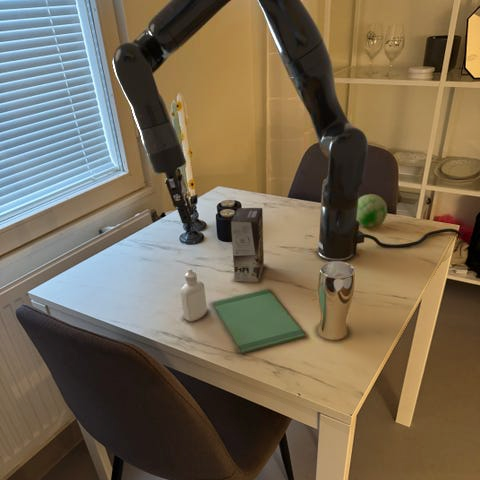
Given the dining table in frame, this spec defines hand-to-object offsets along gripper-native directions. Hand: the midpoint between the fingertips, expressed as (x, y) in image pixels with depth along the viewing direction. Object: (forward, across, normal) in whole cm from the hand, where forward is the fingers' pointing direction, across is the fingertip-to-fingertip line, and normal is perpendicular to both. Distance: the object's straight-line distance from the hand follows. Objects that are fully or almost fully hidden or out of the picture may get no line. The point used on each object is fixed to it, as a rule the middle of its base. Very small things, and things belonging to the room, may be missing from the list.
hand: (188, 218), depth 107 cm
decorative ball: (+25, +26, -47) cm, 60 cm away
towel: (+22, -16, -8) cm, 29 cm away
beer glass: (+27, -23, -23) cm, 42 cm away
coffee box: (+20, +5, -10) cm, 22 cm away
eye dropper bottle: (+19, -12, +4) cm, 23 cm away
